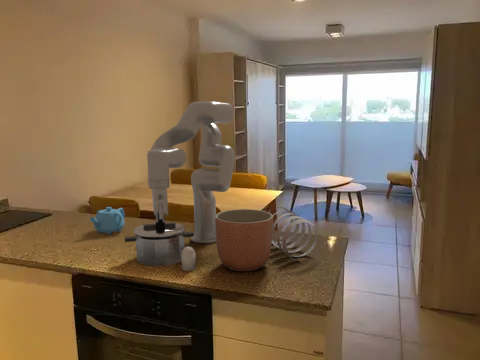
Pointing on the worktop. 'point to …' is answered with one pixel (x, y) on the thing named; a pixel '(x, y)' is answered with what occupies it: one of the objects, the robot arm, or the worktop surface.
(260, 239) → the planter
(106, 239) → the worktop surface
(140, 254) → the pot
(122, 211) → the teapot
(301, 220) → the spring
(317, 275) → the worktop surface
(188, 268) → the salt cellar
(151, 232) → the lid
